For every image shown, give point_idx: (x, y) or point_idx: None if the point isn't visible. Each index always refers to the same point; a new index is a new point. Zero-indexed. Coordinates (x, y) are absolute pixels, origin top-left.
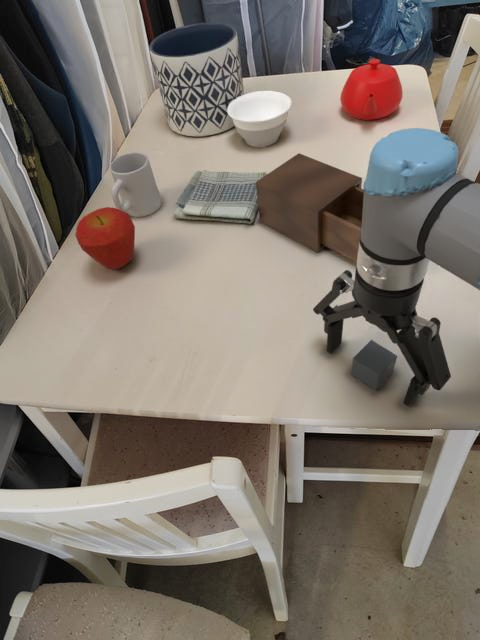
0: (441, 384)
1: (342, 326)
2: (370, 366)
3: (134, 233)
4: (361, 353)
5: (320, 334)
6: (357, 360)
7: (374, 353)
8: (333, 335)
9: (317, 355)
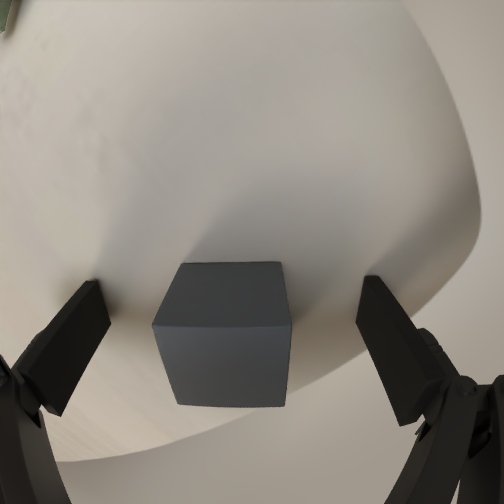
0: (490, 429)
1: (54, 337)
2: (242, 402)
3: None
4: (180, 384)
5: (52, 285)
6: (194, 405)
7: (212, 366)
8: (75, 372)
9: None
